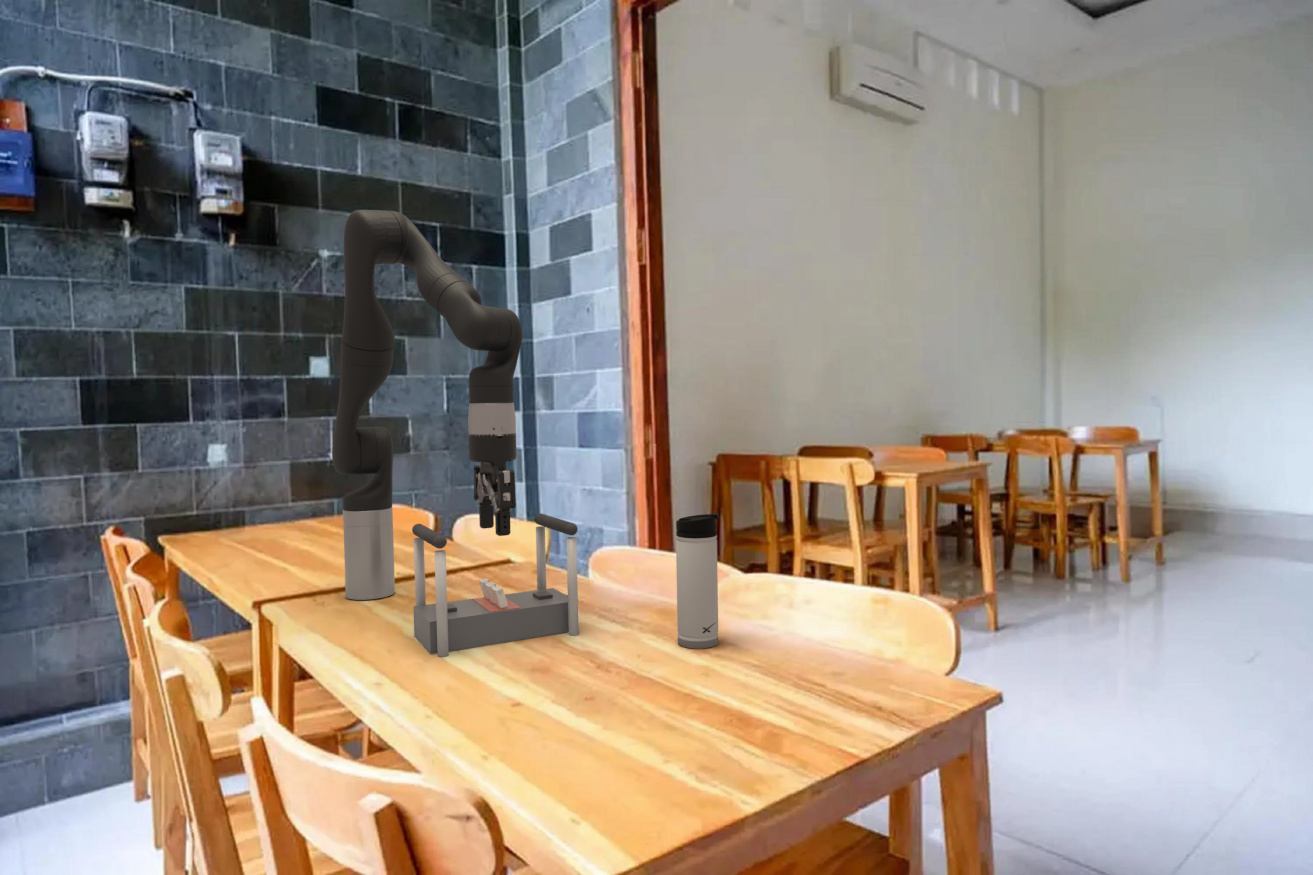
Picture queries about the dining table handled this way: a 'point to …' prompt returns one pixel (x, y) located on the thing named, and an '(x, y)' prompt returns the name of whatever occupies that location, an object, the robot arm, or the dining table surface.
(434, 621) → the pdu
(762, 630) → the dining table surface
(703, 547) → the travel mug
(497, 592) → the breaker paddles
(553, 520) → the dark grey rod
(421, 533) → the dark grey rounded rod
